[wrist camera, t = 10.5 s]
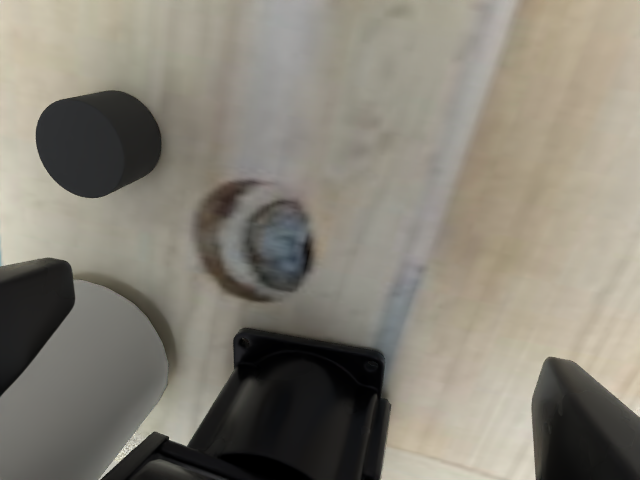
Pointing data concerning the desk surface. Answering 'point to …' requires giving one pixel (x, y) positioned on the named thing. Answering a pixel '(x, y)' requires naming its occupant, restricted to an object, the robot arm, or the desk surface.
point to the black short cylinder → (97, 142)
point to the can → (83, 391)
